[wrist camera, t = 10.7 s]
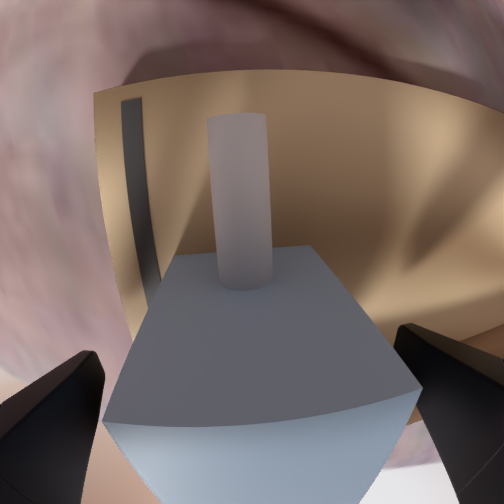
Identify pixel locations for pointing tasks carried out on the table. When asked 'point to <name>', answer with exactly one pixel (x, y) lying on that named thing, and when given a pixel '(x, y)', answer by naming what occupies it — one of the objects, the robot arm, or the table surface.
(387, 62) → the table surface
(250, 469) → the block
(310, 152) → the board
